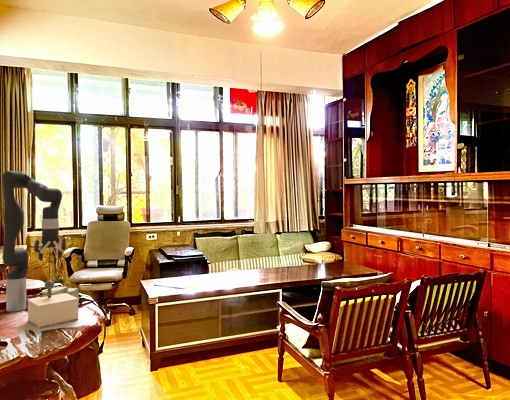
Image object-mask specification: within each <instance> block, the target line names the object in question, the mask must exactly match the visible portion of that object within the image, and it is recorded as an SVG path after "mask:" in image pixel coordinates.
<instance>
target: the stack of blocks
mask: <svg viewBox="0 0 510 400" xmlns="http://www.w3.org/2000/svg"><path fill="white" fill-rule="evenodd" d="M79 290H80V289H79V288H77V287H76V288H72V287H69V286H56V287H55V286H54V287H53V288H52V289H51V296H52V295H58V294H63V293H67V294H69V295H72V296H74V297H76V298H78V299H80V296H79V295H80V293H79ZM41 294H42V297H46V296H48V289H46V290H44V291H42V293H41ZM79 301H80V300H78V305H79V303H80V302H79Z"/></svg>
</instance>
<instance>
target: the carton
mask: <svg viewBox="0 0 510 400" xmlns="http://www.w3.org/2000/svg"><path fill="white" fill-rule="evenodd" d="M78 320H79V304H78V300H75V301H69V302H64V303H59V304H53V305H48V306H43V307H37V306H35V305H34V304H32V303H30V302H29V301H27V322H28V323H30V324H32V325H33V326H34V327H36V328H37V327H38V329H39V328H40V329H42V328H41V327H44V328H47V327H46V326H49V327H51V326H50V325H53V326H56V325H55V324H58V325H60V324H59V323H62V324H66V323H70V321H71V322H75V321H78ZM65 322H66V323H65Z"/></svg>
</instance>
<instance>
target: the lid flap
mask: <svg viewBox="0 0 510 400" xmlns="http://www.w3.org/2000/svg"><path fill="white" fill-rule="evenodd" d="M44 288H45V289H46V290H48V296H46V297H36V298H29V299H26V302H28V301H29V302H30V303H32V304H34V305H35V306H37V307H43V306H48V305H53V304H59V303H64V302H69V301H75V300H79V299H80V298H79V299H78V298H76V297H74V296H72V295H69V294H67V293H63V294H58V295H52V296H51V289H52V288H55V282H54V281H53V280H48V281H45V283H44ZM79 301H80V300H79Z"/></svg>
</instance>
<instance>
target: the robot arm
mask: <svg viewBox="0 0 510 400" xmlns="http://www.w3.org/2000/svg"><path fill="white" fill-rule="evenodd" d="M1 184H2V192H3V206H4V207H3V227H4V230H3V231H4V233H3V234H4V236H3V246H2V263H3V265H4V266H5V267H9V268H10V267H14V268H12V270H10V271H8V272H7V273H6V274H5V275H6V283H5V284H6V290H5V291H6V300H5V301H6V304H5V305H6V306H5V308H6V309H5V310H6V312H9V313H11V312H20V311H24V310H25V309H27V273H28V269H29V268H28V267H29V253H28V250H27V249H26V248H24V247H19V248H18V247H17V248H16V240H17V238H18V236H19V235H20V233H21V231H22V229H23V228H24V224H25V212H24V209H23V208H22V207H21V204H19V202H18V201H17V199H16V197H15V193H14V189H26V190H27V191H28V193H29V194H31V195H32V196H35V197H36V198H37V199H38V200H39V201H40V202H43V203H50V205H48V206H45V207H43V208H42V220H41V239H35V240H34V245H33V246H34V247H33V251H34V252H35V253H37V254H38V255H37V256H38V260H39V261H40V262H42V261H44V254H43V252H44V251H45V250H46V249H49V248H52V249H53V248H55V249H56V250H57V259H58V260H59V259H61V258H62V257H63V251H65V250H66V249H67V246H66V238H64V237H59V233H60V230H59V229H60V225H59V221H60V220H59V209H60V207H61V206H60V205H61V203H62V200H63V193H62V191H61V189H59V188H56V187H54V188H51V187H49V188H48V186H47V185H46V184H44V183H41V182H39V181H36V180H35V179H34V178H32V177H31V176H29V174H28V173H25V172H24V171H17V170H5V171H3V174H2V179H1ZM58 243H61V246H60V245H59V244H58ZM41 244H42V245H41ZM40 245H41V246H40Z"/></svg>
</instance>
